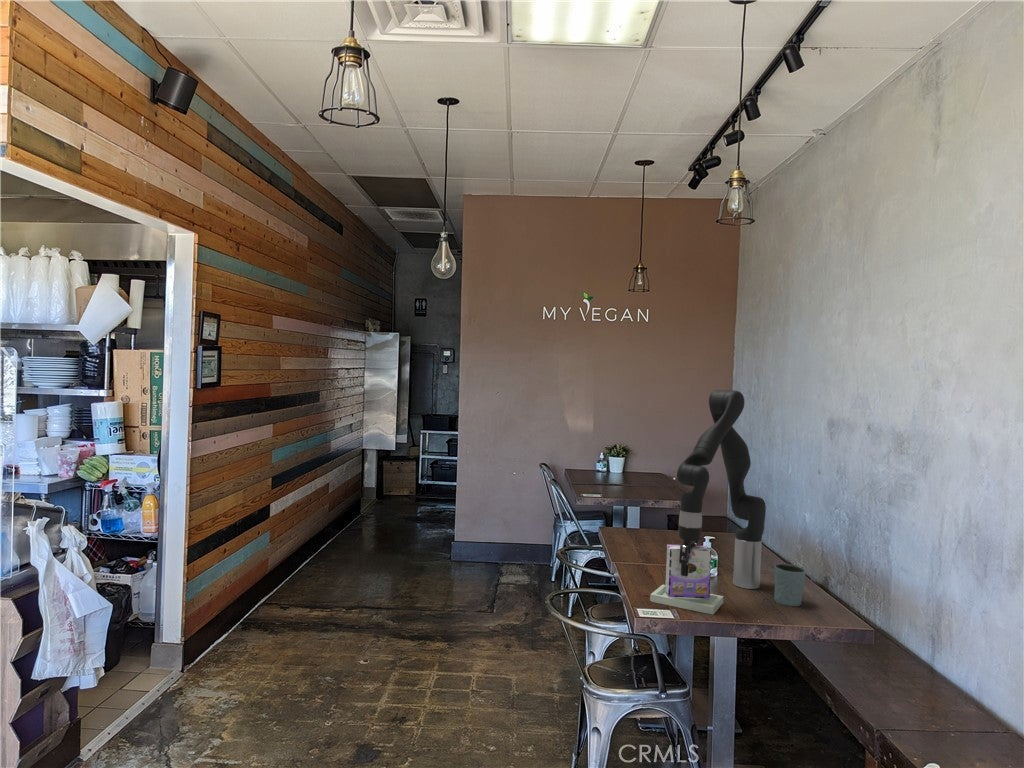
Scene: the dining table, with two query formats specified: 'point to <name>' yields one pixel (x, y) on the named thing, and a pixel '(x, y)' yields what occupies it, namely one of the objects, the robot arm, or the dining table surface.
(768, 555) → the dining table surface
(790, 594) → the green cup
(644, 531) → the dining table surface
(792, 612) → the dining table surface
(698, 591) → the candy box
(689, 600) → the tray
